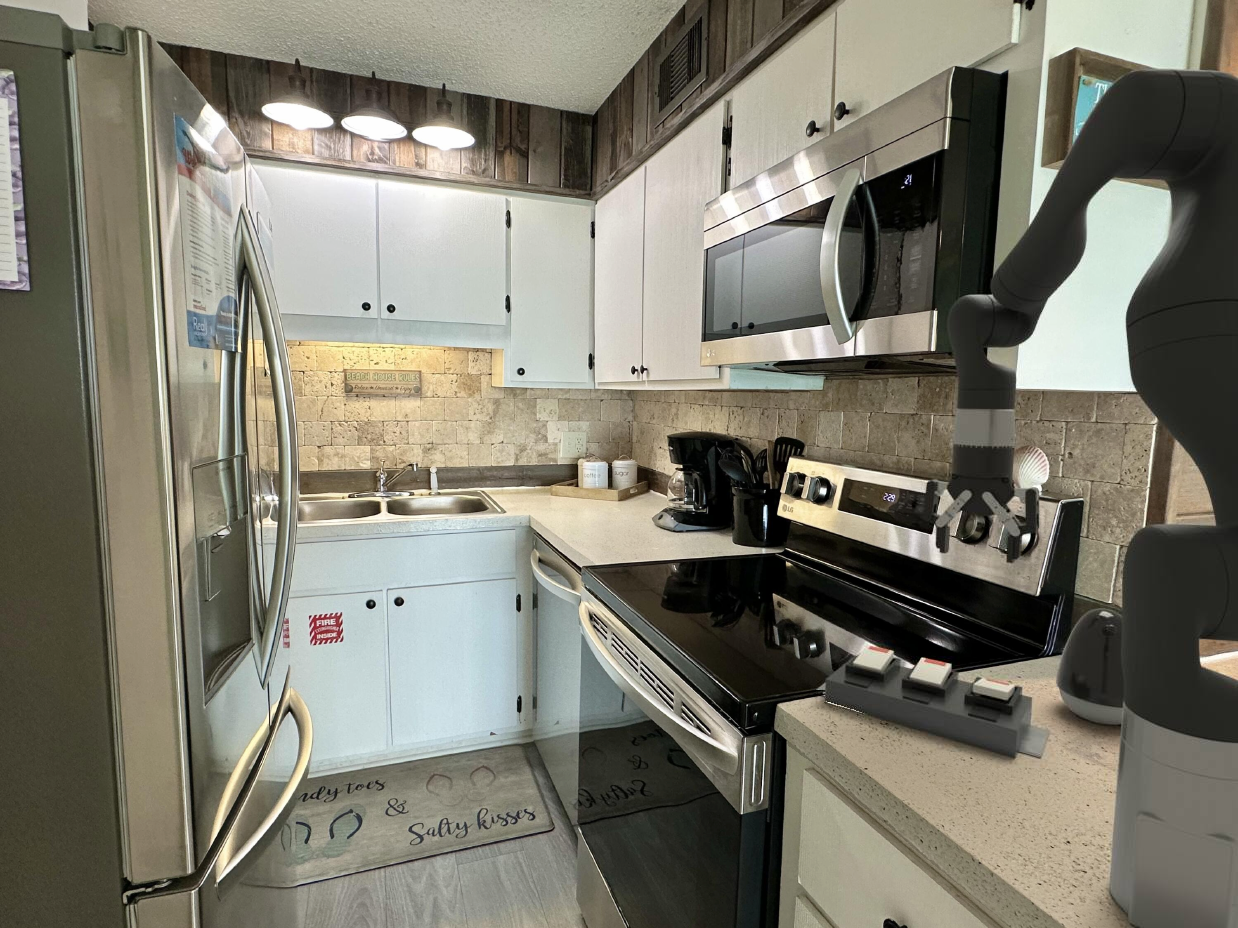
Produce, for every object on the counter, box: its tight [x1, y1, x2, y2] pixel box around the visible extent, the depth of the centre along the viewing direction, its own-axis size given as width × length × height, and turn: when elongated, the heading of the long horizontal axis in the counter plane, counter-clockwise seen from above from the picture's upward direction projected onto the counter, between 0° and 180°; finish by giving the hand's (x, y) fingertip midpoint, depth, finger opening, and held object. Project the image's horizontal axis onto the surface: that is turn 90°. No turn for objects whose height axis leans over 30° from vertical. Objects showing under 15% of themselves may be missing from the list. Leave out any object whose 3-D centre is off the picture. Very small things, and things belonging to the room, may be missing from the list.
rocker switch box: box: [816, 653, 1051, 759], centre depth 95 cm, size 12×29×5 cm, turn 51°
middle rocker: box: [910, 657, 952, 687], centre depth 97 cm, size 6×4×1 cm, turn 141°
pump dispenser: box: [1055, 607, 1124, 726], centre depth 94 cm, size 10×10×15 cm
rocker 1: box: [853, 644, 895, 672], centre depth 102 cm, size 6×4×1 cm, turn 141°
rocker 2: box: [973, 677, 1016, 700], centre depth 92 cm, size 6×4×1 cm, turn 141°
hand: (976, 557), depth 96 cm, fingers open, 8 cm apart
